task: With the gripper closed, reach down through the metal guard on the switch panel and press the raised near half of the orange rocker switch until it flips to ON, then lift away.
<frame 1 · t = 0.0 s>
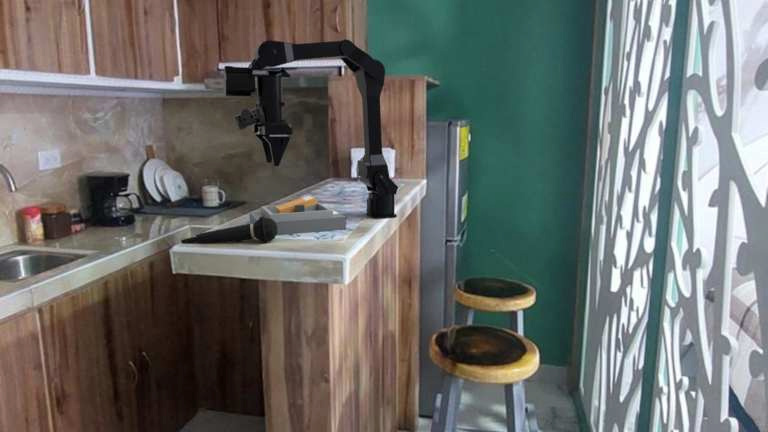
hand: (272, 164, 125), 15 cm above the countertop, fingers open, 9 cm apart
switch panel: (296, 226, 125), on the countertop
rocker: (296, 204, 124), point 5 cm above the countertop, hinge at 15.0°
microphone: (232, 243, 110), on the countertop
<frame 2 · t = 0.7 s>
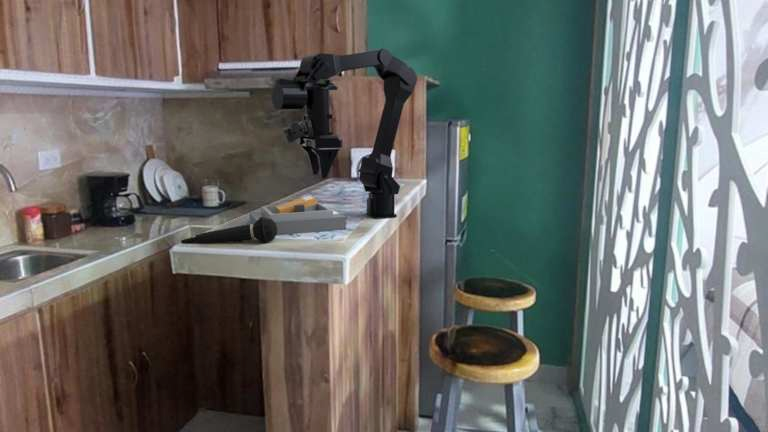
hand: (319, 176, 125), 12 cm above the countertop, fingers open, 8 cm apart
nothing on the countertop moved.
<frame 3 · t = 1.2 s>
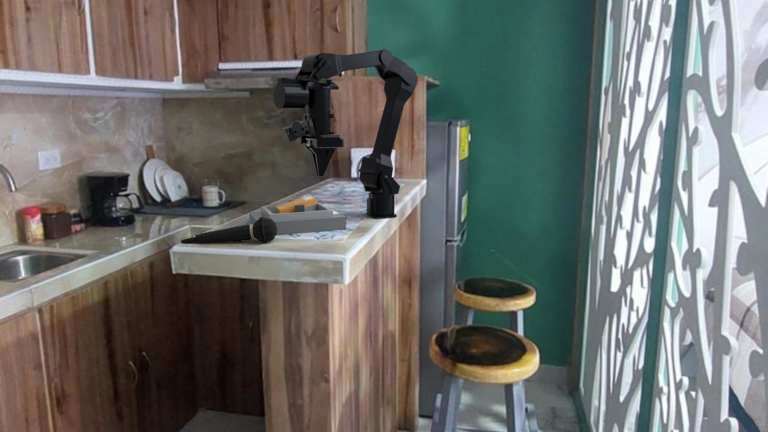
hand: (320, 175, 125), 12 cm above the countertop, fingers closed
nothing on the countertop moved.
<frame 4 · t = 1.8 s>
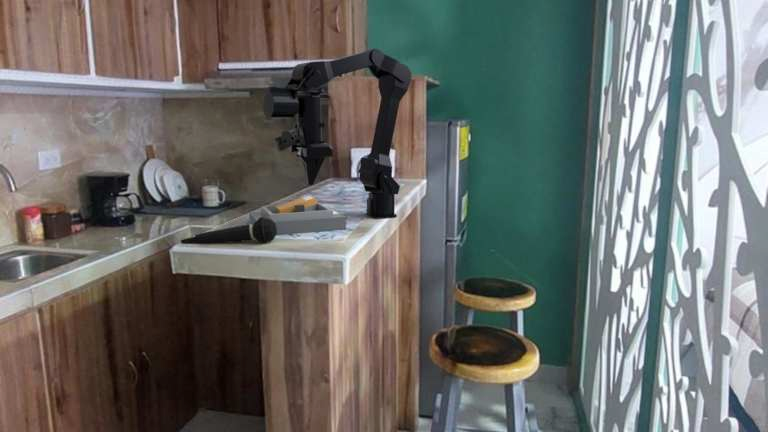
hand: (310, 184, 124), 10 cm above the countertop, fingers closed
nothing on the countertop moved.
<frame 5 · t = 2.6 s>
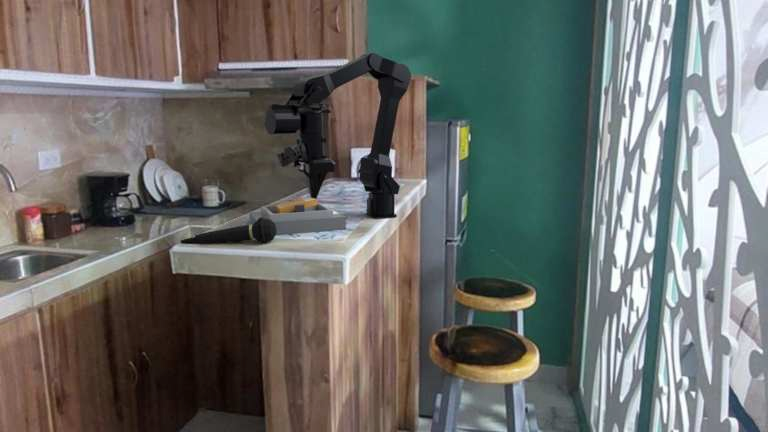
hand: (313, 199, 125), 6 cm above the countertop, fingers closed, pressing on rocker
rocker: (296, 204, 124), point 5 cm above the countertop, hinge at 10.8°, touching gripper
everything else where it was.
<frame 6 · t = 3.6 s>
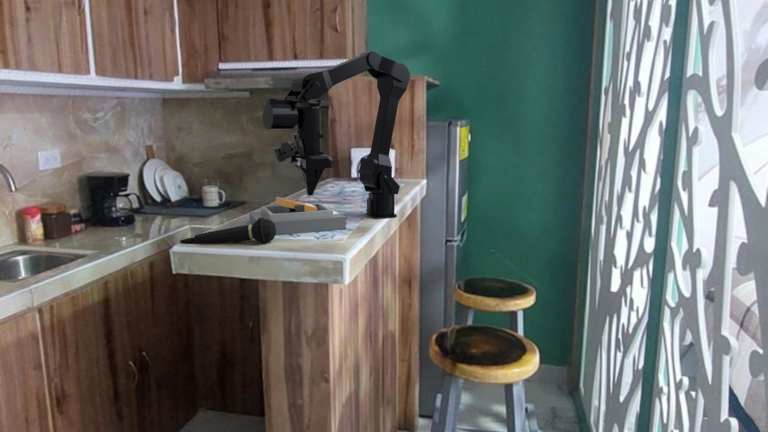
hand: (310, 195, 124), 7 cm above the countertop, fingers closed
rocker: (296, 204, 124), point 5 cm above the countertop, hinge at -16.3°
everything else where it was.
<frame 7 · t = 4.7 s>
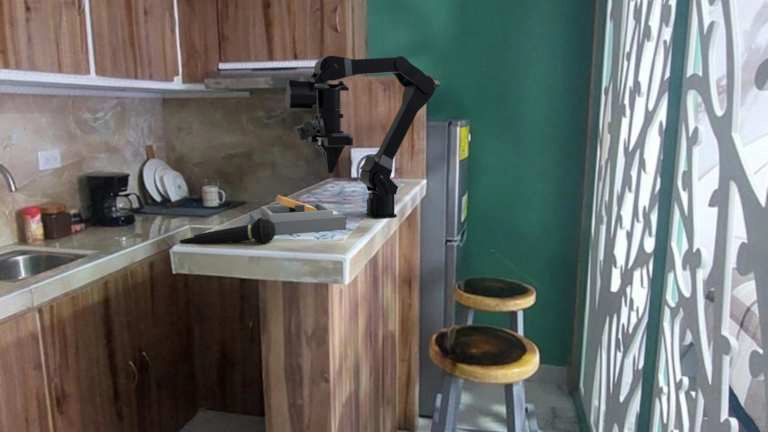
hand: (330, 173, 131), 12 cm above the countertop, fingers closed
rocker: (296, 204, 124), point 5 cm above the countertop, hinge at -21.6°, touching switch panel
everything else where it was.
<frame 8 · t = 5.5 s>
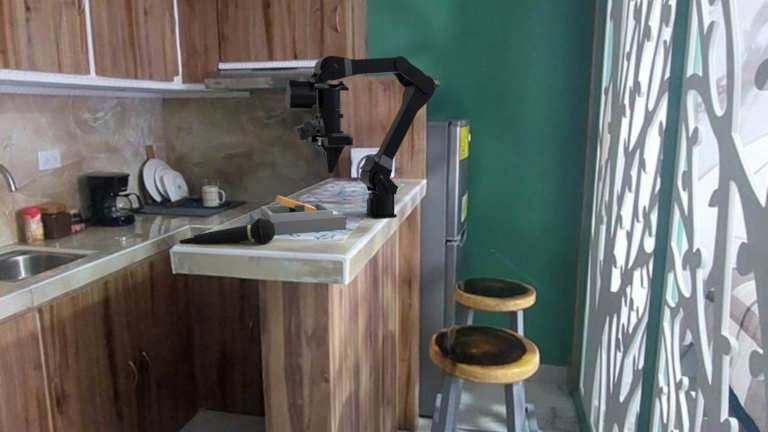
hand: (330, 173, 131), 12 cm above the countertop, fingers closed
rocker: (296, 204, 124), point 5 cm above the countertop, hinge at -20.7°
everything else where it was.
at the end: rocker at -21° (first picture: +15°) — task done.
